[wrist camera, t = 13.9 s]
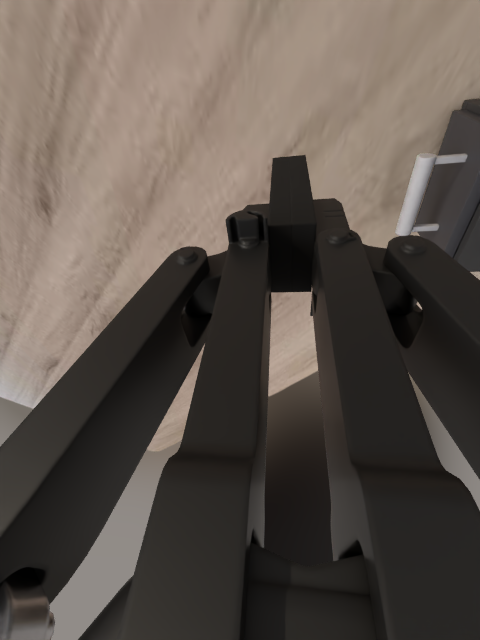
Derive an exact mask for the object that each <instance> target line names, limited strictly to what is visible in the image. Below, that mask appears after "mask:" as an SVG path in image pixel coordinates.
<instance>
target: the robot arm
mask: <svg viewBox="0 0 480 640" xmlns="http://www.w3.org/2000/svg"><path fill="white" fill-rule="evenodd" d="M226 226H227V233H228V239H229V246H228V250H227V251H225V252H223V253H220V254H216V255H212V256H208V257H207V253H206V251H205V250H204V249H202V248H199V247H184V248H181V249H179V250H177V251H174V252H173V253H172V254H171V255H170V256H169V257H168V258H167V259H166V260H165V261H164V262H163V263H162V265H161V266H160V267H159V268H158V269H157V270H156V271H155V273H154V274H153V275H152V276H151V277H150V278H149V279H148V280H147V282H146V283H145V284H144V285H143V286H142V287H141V288H140V289H139V291H138V292H137V293H136V294H135V295H134V296H133V297H132V299H131V300H130V301H129V302H128V303H127V304H126V305H125V306H124V308H123V309H122V310H121V311H120V312H119V313H118V314H117V315H116V317H115V318H114V319H113V320H112V321H111V322H110V323H109V325H108V326H107V327H106V328H105V329H104V330H103V331H102V332H101V334H100V335H99V336H98V337H97V338H96V339H95V340H94V341H93V343H92V344H91V345H90V346H89V347H88V348H87V349H86V351H85V352H84V353H83V354H82V355H81V356H80V357H79V358H78V360H77V361H76V362H75V363H74V364H73V365H72V366H71V367H70V369H69V370H68V371H67V372H66V373H65V374H64V375H63V377H62V378H61V379H60V380H59V381H58V382H57V383H56V384H55V386H54V387H53V388H52V389H51V390H50V391H49V392H48V393H47V395H46V396H45V397H44V398H43V399H42V400H41V401H40V403H39V404H38V405H37V406H36V407H35V408H34V409H33V410H32V412H31V413H30V414H29V415H28V416H27V417H26V419H25V420H24V421H23V422H22V423H21V424H20V425H19V426H18V428H17V429H16V430H15V431H14V432H13V433H12V434H11V435H10V436H9V438H8V439H7V440H6V441H5V442H4V443H3V444H2V446H1V447H0V640H51V637H52V635H53V632H54V626H55V620H54V615H53V613H52V612H51V611H50V608H49V607H50V606H49V605H50V603H51V602H52V601H53V600H54V598H55V597H56V596H57V595H58V593H59V592H60V591H61V590H62V589H63V587H64V586H65V585H66V584H67V583H68V581H69V580H70V578H71V577H72V575H73V574H74V573H75V571H76V570H77V568H78V567H79V566H80V564H81V563H82V561H83V560H84V558H85V557H86V556H87V554H88V552H89V551H90V549H91V547H92V546H93V544H94V542H95V541H96V539H97V537H98V536H99V534H100V532H101V531H102V529H103V527H104V525H105V524H106V522H107V520H108V518H109V516H110V515H111V513H112V511H113V509H114V507H115V505H116V503H117V502H118V500H119V498H120V496H121V495H122V493H123V491H124V489H125V487H126V485H127V484H128V482H129V480H130V478H131V476H132V475H133V473H134V471H135V469H136V467H137V465H138V464H139V462H140V460H141V458H142V456H143V454H144V453H145V451H146V449H147V447H148V446H149V444H150V442H151V440H152V438H153V436H154V435H155V433H156V431H157V429H158V427H159V426H160V424H161V422H162V420H163V418H164V416H165V415H166V413H167V411H168V409H169V407H170V406H171V404H172V402H173V400H174V398H175V396H176V395H177V393H178V391H179V389H180V387H181V386H182V384H183V382H184V380H185V378H186V376H187V375H188V373H189V371H190V369H191V367H192V366H193V364H194V362H195V360H196V358H197V356H198V355H199V353H200V351H201V349H202V347H203V346H204V344H205V347H204V351H203V355H202V359H201V363H200V368H199V372H198V376H197V380H196V384H195V388H194V393H193V397H192V401H191V405H190V409H189V413H188V418H187V422H186V426H185V430H184V434H183V439H182V442H181V445H180V448H179V450H178V452H177V453H176V454H175V455H173V456H172V457H170V458H169V459H168V461H167V463H166V465H165V466H164V468H163V471H162V474H161V477H160V480H159V483H158V486H157V490H156V494H155V498H154V501H153V505H152V509H151V513H150V516H149V520H148V524H147V527H146V531H145V535H144V539H143V542H142V546H141V550H140V553H139V557H138V561H137V565H136V569H135V572H134V575H133V576H132V577H131V578H130V579H129V580H128V581H127V582H126V583H125V585H124V586H123V587H122V588H121V589H120V590H119V591H118V593H117V594H116V595H115V596H114V598H113V599H112V600H111V601H110V602H109V603H108V605H107V606H106V607H105V608H104V609H103V611H102V612H101V613H100V614H99V615H98V616H97V618H96V619H95V620H94V621H93V623H92V624H91V625H90V626H89V627H88V628H87V630H86V631H85V632H84V633H83V634H82V636H81V637H80V638H79V639H78V640H480V511H479V509H478V507H477V505H476V503H475V501H474V499H473V497H472V495H471V493H470V491H469V490H468V488H467V487H466V486H465V485H464V483H463V482H462V481H461V480H460V479H459V478H457V477H456V476H454V475H452V474H451V473H449V472H448V471H446V470H445V469H444V467H443V466H442V465H441V463H440V460H439V458H438V456H437V453H436V451H435V448H434V445H433V442H432V439H431V436H430V434H429V431H428V428H427V425H426V422H425V419H424V417H423V414H422V411H421V408H420V405H419V402H418V399H417V397H416V394H415V391H414V388H413V385H412V382H411V380H410V377H409V374H410V375H411V377H412V378H413V380H414V381H415V383H416V384H417V386H418V387H419V389H420V390H421V392H422V393H423V395H424V396H425V398H426V399H427V401H428V402H429V404H430V405H431V407H432V409H433V410H434V411H435V413H436V414H437V416H438V417H439V419H440V421H441V422H442V423H443V425H444V427H445V428H446V430H447V431H448V432H449V434H450V436H451V437H452V439H453V440H454V442H455V443H456V445H457V446H458V448H459V449H460V451H461V452H462V453H463V455H464V457H465V458H466V459H467V461H468V463H469V464H470V466H471V467H472V468H473V470H474V472H475V473H476V475H477V476H478V478H479V479H480V280H479V279H477V278H476V277H475V276H474V275H473V274H471V273H470V272H469V271H468V270H467V269H465V268H464V267H463V266H462V265H460V264H459V263H458V262H457V261H456V260H454V259H453V258H452V257H451V256H450V255H448V254H447V253H446V252H445V251H444V250H442V249H441V248H440V247H439V246H437V245H436V244H435V243H433V242H432V241H430V240H428V239H425V238H422V237H420V236H413V235H408V236H399V237H396V238H393V239H392V240H390V241H389V242H388V246H387V249H386V248H378V247H372V246H367V245H364V244H362V241H361V238H360V236H359V235H358V234H357V233H356V232H354V231H352V230H350V228H349V225H348V222H347V219H346V216H345V213H344V210H343V207H342V204H341V203H340V202H339V201H337V200H336V199H335V198H332V199H317V200H313V198H312V192H311V186H310V180H309V174H308V168H307V162H306V156H305V155H301V156H290V157H279V158H273V164H272V177H271V190H270V204H256V205H247V206H246V207H245V208H244V209H243V210H242V211H238V212H235V213H233V214H231V215H230V216H228V217H227V219H226ZM311 289H313V290H312V301H311V313H310V316H313V320H314V331H315V341H316V351H317V361H318V371H319V382H320V392H321V402H322V412H323V422H324V432H325V443H326V453H327V463H328V474H329V484H330V493H331V537H332V549H333V560H334V561H333V562H328V563H323V564H319V565H315V566H302V565H299V564H297V563H295V562H293V561H290V560H288V559H286V558H284V557H282V556H280V555H277V554H275V553H273V552H271V551H269V550H266V549H264V516H265V515H264V487H265V460H266V434H267V406H268V381H269V354H270V328H271V292H311ZM417 301H418V302H419V304H420V305H421V307H422V310H421V309H420V308H419V307H418V306H417V304H416V303H417ZM408 372H409V374H408Z"/></svg>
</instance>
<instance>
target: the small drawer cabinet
mask: <svg viewBox="0 0 480 640" xmlns="http://www.w3.org/2000/svg"><path fill="white" fill-rule="evenodd" d="M464 109H466V110H468V111H471V112H473V113H475V114H478V115H480V99H471V100H465V101H464V103H463V106H462V109H461V110H464ZM453 259H454V260H456V261H457V262H458V263H459V264H460V265H462V266H463V267H464V268H465V269H467V270H468V271H469V272H476V271H480V203H479V205H478V208H477V210H476V212H475V214H474V216H473V218H472V220H471V222H470V224H469V226H468V229H467V231H466V233H465V235H464V237H463V239H462V241H461V243H460V245H459V246H458V248H457V250H456V252H455V254H454V256H453Z"/></svg>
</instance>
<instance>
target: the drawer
mask: <svg viewBox="0 0 480 640" xmlns="http://www.w3.org/2000/svg"><path fill="white" fill-rule="evenodd" d="M434 164H435V166H434V169H433V172H432V175H431V178H430V181H429V184H428V187H427V190H426V193H425V196H424V199H423V202H422V205H421V208H420V211H419V214H418V217H417V220H416V222H415V219H416V216H417V213H418V210H419V207H420V204H421V201H422V198H423V195H424V192H425V189H426V186H427V183H428V180H429V177H430V174H431V171H432V168H433V165H434ZM479 203H480V115H478V114H475V113H473V112H471V111H468V110H466V109H464V110H454V111H453V112H452V115H451V118H450V121H449V124H448V127H447V130H446V133H445V136H444V139H443V142H442V145H441V148H440V151H439V154H438V156H436V155H435V154H432V153H421V154H418V155H417V158H416V162H415V165H414V168H413V172H412V175H411V179H410V182H409V186H408V189H407V193H406V196H405V200H404V203H403V206H402V210H401V213H400V217H399V220H398V224H397V227H396V231H395V233H396V234H397V235H400V236H408V235H410V234H411V231H412V232H418V234H419V235H420V236H421V237H422V238H425V239H428V240H430V241H432V242H433V243H435V244H436V245H437V246H439V247H440V248H441V249H442V250H444V251H445V252H446V253H447V254H448V255H450V256H451V257H452V258H453V256H454V254H455V252H456V250H457V248H458V246H459V245H460V243H461V241H462V239H463V237H464V235H465V233H466V231H467V229H468V226H469V224H470V222H471V220H472V218H473V216H474V214H475V212H476V210H477V208H478V205H479ZM414 222H415V225H414Z"/></svg>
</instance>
